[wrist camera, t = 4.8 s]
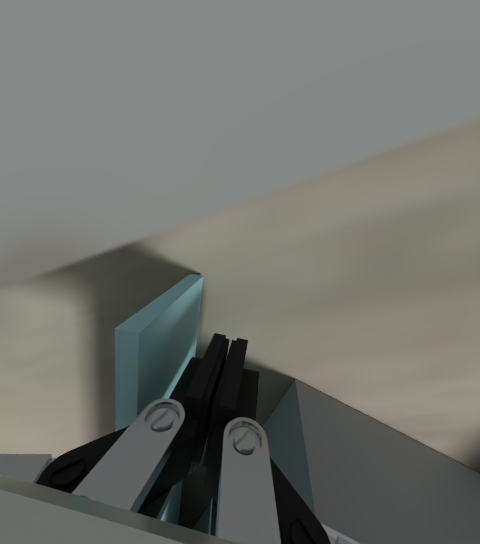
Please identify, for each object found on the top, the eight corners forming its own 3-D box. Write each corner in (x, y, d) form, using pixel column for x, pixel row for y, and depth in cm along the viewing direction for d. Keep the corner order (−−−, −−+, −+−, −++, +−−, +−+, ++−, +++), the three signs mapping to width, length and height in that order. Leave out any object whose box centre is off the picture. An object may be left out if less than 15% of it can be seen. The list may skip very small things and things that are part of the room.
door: (177, 550, 20) (132, 714, 13) (165, 546, 20) (114, 706, 14) (206, 276, 13) (145, 334, 7) (187, 273, 13) (108, 327, 7)
